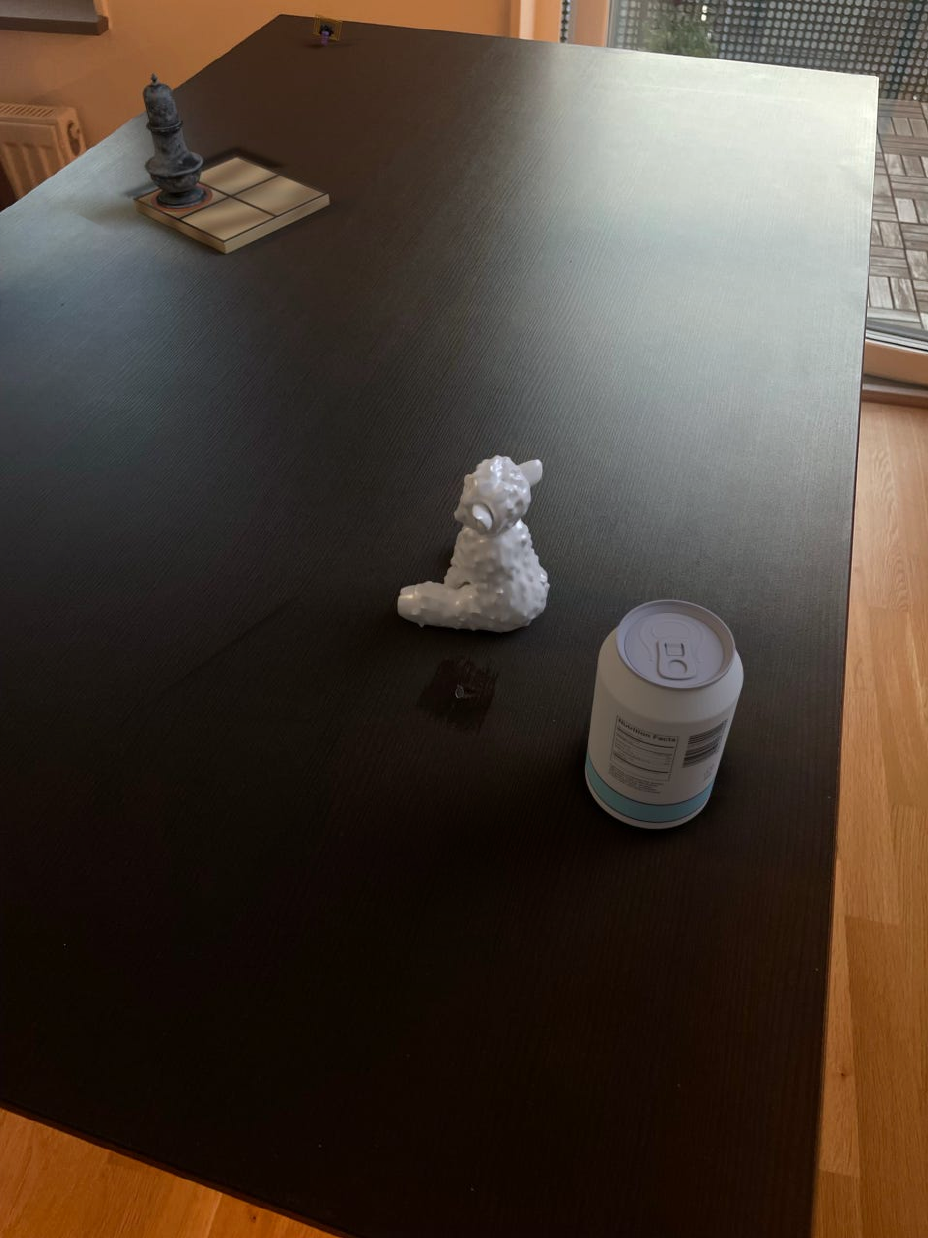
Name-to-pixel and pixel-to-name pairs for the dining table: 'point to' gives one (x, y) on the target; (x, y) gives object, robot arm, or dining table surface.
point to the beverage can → (661, 713)
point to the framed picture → (326, 29)
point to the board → (238, 204)
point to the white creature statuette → (487, 557)
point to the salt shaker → (170, 151)
